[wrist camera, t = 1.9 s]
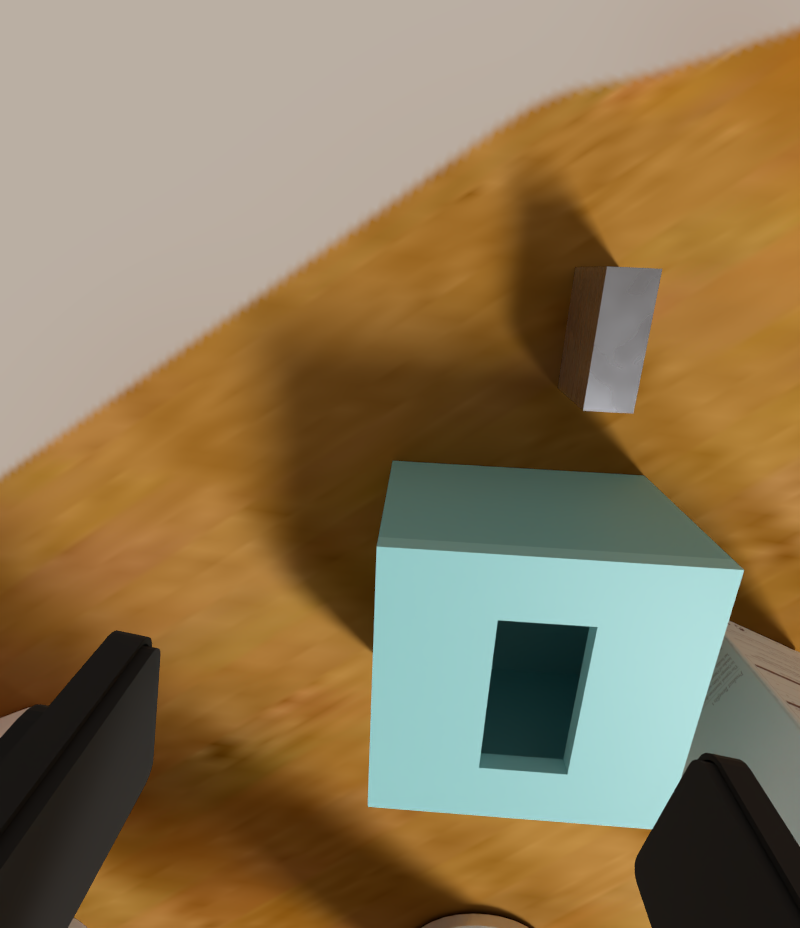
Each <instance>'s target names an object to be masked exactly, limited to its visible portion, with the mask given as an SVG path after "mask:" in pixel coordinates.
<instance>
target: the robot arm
mask: <svg viewBox="0 0 800 928" xmlns="http://www.w3.org/2000/svg"><path fill="white" fill-rule="evenodd" d="M159 667H160V650H159V649H158V648H153V647H152V641H151V638H149V637H145V636H141V635H136V634H131V633H126V632H121V631H114V632H112V633H111V634H110V635H109V636H108V637H107V638H106V639H105V641H104V642H103V643H102V644H101V645H100V647H99V648H98V649H97V650H96V651H95V652H94V654H93V655H92V656H91V657H90V658H89V659H88V661H87V662H86V663H85V664H84V665H83V666H82V668H81V669H80V670H79V671H78V672H77V674H76V675H75V676H74V677H73V678H72V679H71V681H70V682H69V683H68V684H67V685H66V686H65V688H64V689H63V690H62V691H61V692H60V694H59V695H58V696H57V697H56V698H55V699H54V701H53V702H52V703H51V704H50V705H49V706H46V705H34V706H32V707H30V708H29V709H27V710H26V711H25V712H24V713H23V714H22V715H21V716H20V717H19V718H18V719H17V720H16V721H15V722H14V723H13V724H12V725H11V726H10V728H9V729H8V730H7V731H6V732H5V733H4V734H3V735H2V736H1V738H0V928H68V927H69V925H70V923H71V921H72V920H73V918H74V916H75V914H76V912H77V910H78V908H79V907H80V905H81V903H82V901H83V899H84V897H85V895H86V894H87V892H88V890H89V888H90V886H91V884H92V882H93V881H94V879H95V877H96V875H97V873H98V871H99V869H100V868H101V866H102V864H103V862H104V860H105V858H106V857H107V855H108V853H109V851H110V849H111V847H112V845H113V844H114V842H115V840H116V838H117V836H118V834H119V832H120V831H121V829H122V827H123V825H124V823H125V821H126V819H127V818H128V816H129V814H130V812H131V810H132V808H133V806H134V805H135V803H136V801H137V799H138V797H139V795H140V793H141V792H142V790H143V788H144V786H145V784H146V782H147V780H148V777H149V774H150V771H151V768H152V764H153V756H154V741H155V727H156V712H157V697H158V682H159ZM635 877H636V882H637V885H638V888H639V891H640V894H641V897H642V900H643V903H644V906H645V909H646V912H647V915H648V918H649V921H650V924H651V927H652V928H800V846H799V845H798V843H797V841H796V840H795V838H794V837H793V835H792V834H791V832H790V830H789V829H788V827H787V826H786V824H785V823H784V821H783V819H782V818H781V816H780V815H779V813H778V812H777V810H776V808H775V807H774V805H773V804H772V802H771V801H770V799H769V797H768V796H767V794H766V793H765V791H764V790H763V788H762V786H761V785H760V783H759V782H758V780H757V779H756V777H755V775H754V774H753V772H752V771H751V769H750V768H749V767H748V765H747V764H746V763H745V762H743V761H742V760H740V759H736V758H731V757H726V756H721V755H717V754H712V753H704V754H701V756H700V757H699V758H698V759H697V760H696V759H695V760H693V761H691V763H690V764H689V765H688V767H687V769H686V771H685V772H684V774H683V776H682V778H681V780H680V781H679V783H678V785H677V787H676V788H675V790H674V792H673V794H672V795H671V797H670V799H669V801H668V802H667V804H666V806H665V808H664V809H663V811H662V813H661V815H660V816H659V818H658V820H657V822H656V824H655V825H654V827H653V829H652V831H651V832H650V834H649V836H648V838H647V839H646V841H645V843H644V845H643V846H642V848H641V850H640V852H639V853H638V855H637V858H636V861H635ZM421 928H528V927H527V926H525V925H523V924H521V923H519V922H517V921H514V920H511V919H508V918H505V917H501V916H495V915H490V914H476V913H471V914H458V915H453V916H448V917H444V918H441V919H438V920H435V921H432V922H430V923H429V924H427V925H425V926H423V927H421Z"/></svg>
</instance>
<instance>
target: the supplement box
mask: <svg viewBox="0 0 800 928" xmlns="http://www.w3.org/2000/svg"><path fill="white" fill-rule="evenodd" d="M704 753H712V754H717V755H721V756H726V757H731V758H736V759H740V760H742V761H743V762H745V763H746V764H747V765H748V767H749V768H750V769H751V771H752V772H753V774H754V775H755V777H756V779H757V780H758V782H759V783H760V785H761V786H762V788H763V790H764V791H765V793H766V794H767V796H768V797H769V799H770V801H771V802H772V804H773V805H774V807H775V808H776V810H777V812H778V813H779V815H780V816H781V818H782V819H783V821H784V823H785V824H786V826H787V827H788V829H789V830H790V832H791V834H792V835H793V837H794V838H795V840H796V841H797V843H798V845H799V846H800V653H799V652H797V651H795V650H793V649H790V648H788V647H786V646H784V645H782V644H780V643H778V642H775V641H773V640H771V639H769V638H767V637H764V636H762V635H760V634H757V633H756V632H753V631H751V630H749V629H747V628H745V627H742V626H740V625H738V624H736V623H734V622H731V621H729V622H728V625H727V628H726V631H725V635H724V638H723V641H722V645H721V648H720V651H719V655H718V658H717V661H716V664H715V668H714V671H713V674H712V678H711V681H710V684H709V687H708V691H707V694H706V697H705V701H704V704H703V707H702V711H701V714H700V717H699V720H698V724H697V727H696V730H695V734H694V737H693V740H692V743H691V747H690V750H689V753H688V757H687V760H686V763H685V767H684V770H683V773H682V776H683V774H684V772H685V771H686V769H687V767H688V765H689V764H690V763H691V761H693V760H695V759H696V760H697V759H698V758H699V757H700V756H701V754H704ZM682 776H681V778H682Z"/></svg>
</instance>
